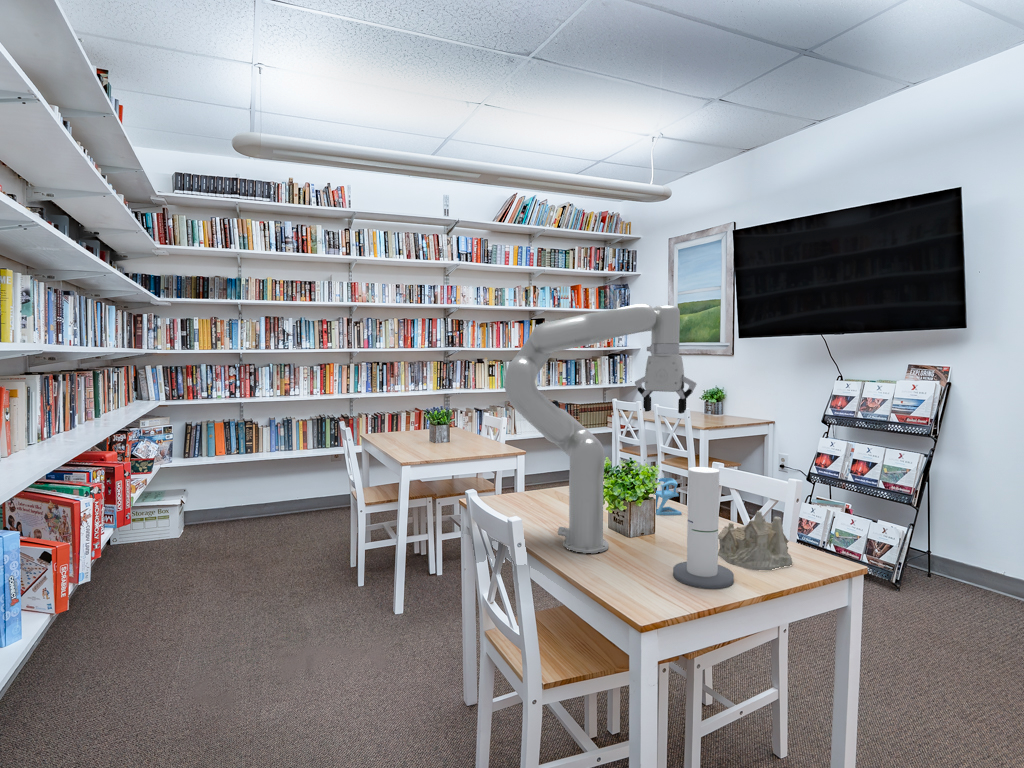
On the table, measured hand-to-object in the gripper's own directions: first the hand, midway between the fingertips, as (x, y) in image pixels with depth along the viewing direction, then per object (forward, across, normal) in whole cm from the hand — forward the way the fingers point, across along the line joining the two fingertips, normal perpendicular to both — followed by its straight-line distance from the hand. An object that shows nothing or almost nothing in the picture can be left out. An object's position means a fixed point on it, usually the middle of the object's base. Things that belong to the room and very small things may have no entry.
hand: (664, 412), depth 162 cm
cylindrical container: (+37, +16, -16) cm, 43 cm away
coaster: (+38, +16, -16) cm, 44 cm away
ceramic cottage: (+39, +24, +4) cm, 46 cm away
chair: (+38, -12, +35) cm, 53 cm away
